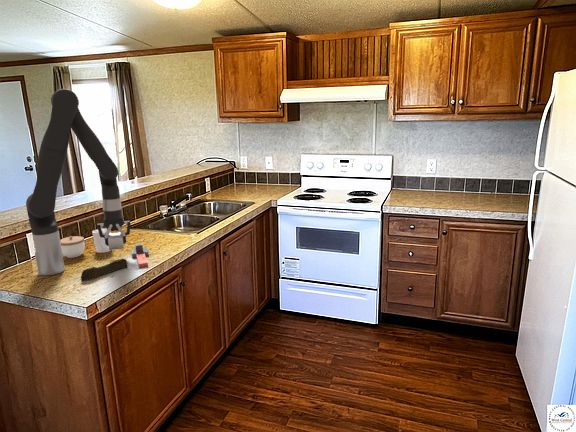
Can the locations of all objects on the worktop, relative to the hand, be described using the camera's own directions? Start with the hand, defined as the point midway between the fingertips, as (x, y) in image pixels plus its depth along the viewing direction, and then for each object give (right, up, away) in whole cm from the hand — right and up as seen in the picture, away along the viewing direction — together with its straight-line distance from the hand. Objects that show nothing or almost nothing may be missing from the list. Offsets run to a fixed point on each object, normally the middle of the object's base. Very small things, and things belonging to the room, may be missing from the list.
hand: (116, 244), depth 180 cm
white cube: (0, -1, 0) cm, 1 cm away
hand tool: (+3, -11, -16) cm, 20 cm away
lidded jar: (-22, -6, +6) cm, 24 cm away
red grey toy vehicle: (+12, -7, -1) cm, 13 cm away
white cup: (-11, -4, +12) cm, 17 cm away
